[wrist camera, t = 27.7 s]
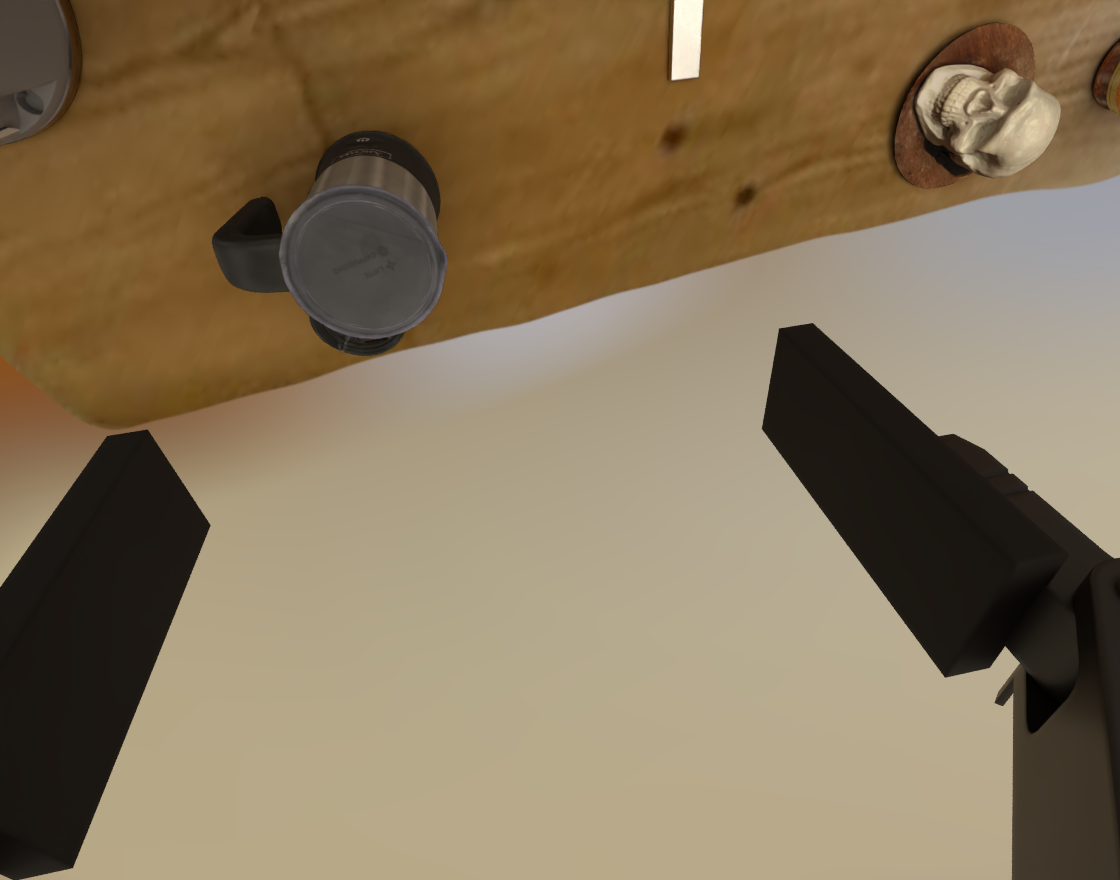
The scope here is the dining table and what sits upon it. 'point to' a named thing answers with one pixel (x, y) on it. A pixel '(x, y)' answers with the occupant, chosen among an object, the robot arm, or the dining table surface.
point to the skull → (975, 111)
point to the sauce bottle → (1109, 81)
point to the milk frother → (348, 244)
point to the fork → (685, 39)
